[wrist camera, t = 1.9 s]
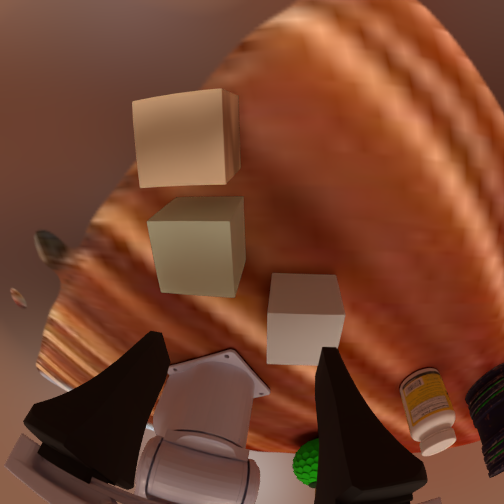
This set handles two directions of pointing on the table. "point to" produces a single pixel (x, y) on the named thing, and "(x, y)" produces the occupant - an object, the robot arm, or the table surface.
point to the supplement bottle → (428, 411)
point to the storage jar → (489, 417)
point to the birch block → (187, 138)
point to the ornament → (307, 463)
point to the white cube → (303, 317)
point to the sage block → (199, 245)
